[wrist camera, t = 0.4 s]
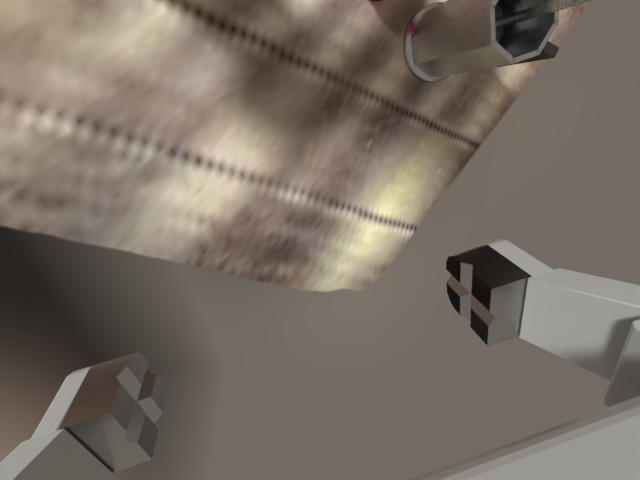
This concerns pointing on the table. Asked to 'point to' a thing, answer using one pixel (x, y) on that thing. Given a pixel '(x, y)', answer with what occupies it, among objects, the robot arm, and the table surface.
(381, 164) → the table surface
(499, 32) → the plunger
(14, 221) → the table surface
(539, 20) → the press
